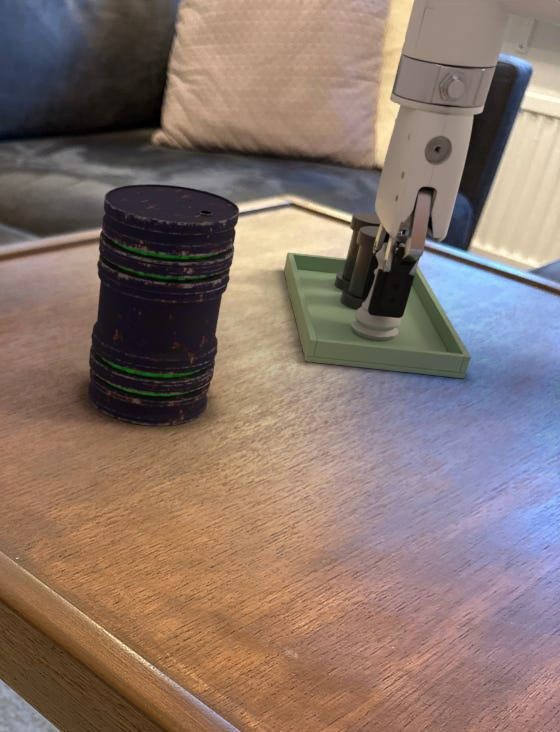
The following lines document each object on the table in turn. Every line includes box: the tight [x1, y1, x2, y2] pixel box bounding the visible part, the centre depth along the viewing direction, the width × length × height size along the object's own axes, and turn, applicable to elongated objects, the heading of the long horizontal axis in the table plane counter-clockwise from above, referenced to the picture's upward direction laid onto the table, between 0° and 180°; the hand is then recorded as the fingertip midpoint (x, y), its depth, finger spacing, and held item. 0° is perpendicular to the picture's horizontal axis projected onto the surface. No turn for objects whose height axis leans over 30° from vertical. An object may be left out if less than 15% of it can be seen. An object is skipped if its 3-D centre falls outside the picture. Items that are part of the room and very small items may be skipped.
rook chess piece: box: [351, 242, 405, 341], centre depth 91 cm, size 4×4×8 cm
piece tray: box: [283, 251, 472, 379], centre depth 97 cm, size 14×25×2 cm, turn 175°
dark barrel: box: [87, 183, 240, 427], centre depth 74 cm, size 10×10×15 cm
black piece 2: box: [340, 226, 379, 310], centre depth 97 cm, size 4×4×7 cm
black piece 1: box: [334, 211, 381, 290], centre depth 101 cm, size 4×4×7 cm
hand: (381, 305), depth 92 cm, fingers closed on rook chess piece, 3 cm apart
